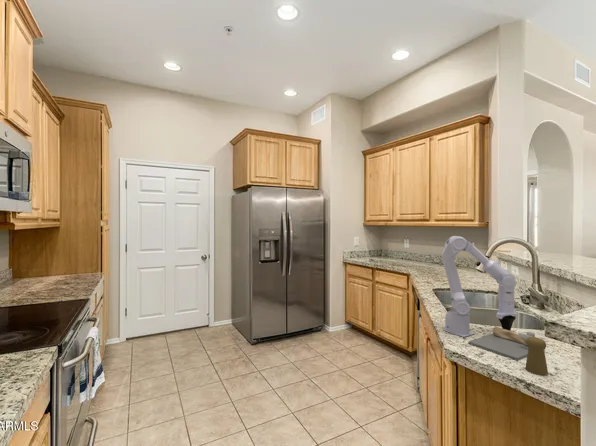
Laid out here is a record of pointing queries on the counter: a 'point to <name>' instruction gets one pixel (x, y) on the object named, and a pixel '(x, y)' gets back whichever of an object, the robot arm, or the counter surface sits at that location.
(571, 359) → the counter surface
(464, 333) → the robot arm
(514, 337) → the link
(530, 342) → the cork
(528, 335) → the keeper
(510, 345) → the base plate
